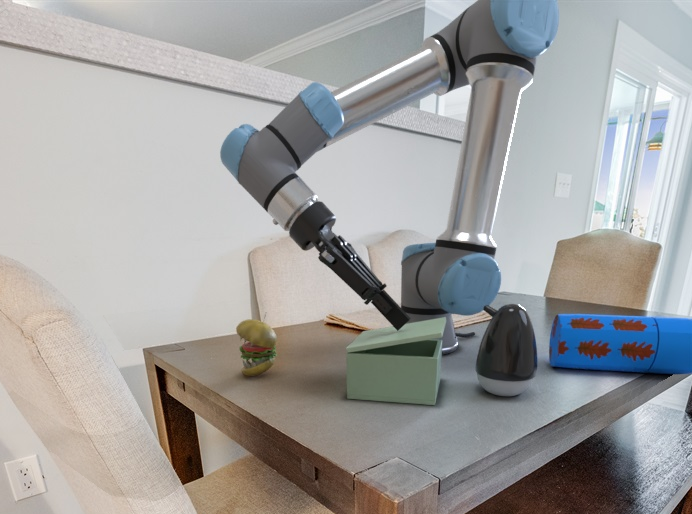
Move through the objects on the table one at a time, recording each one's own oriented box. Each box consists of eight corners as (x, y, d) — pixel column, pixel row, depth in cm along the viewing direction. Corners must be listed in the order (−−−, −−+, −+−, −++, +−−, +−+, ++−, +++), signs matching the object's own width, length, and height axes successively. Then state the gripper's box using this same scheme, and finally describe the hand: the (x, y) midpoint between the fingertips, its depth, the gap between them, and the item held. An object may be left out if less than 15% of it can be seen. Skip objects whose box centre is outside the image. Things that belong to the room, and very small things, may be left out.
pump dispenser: (492, 378, 87) (500, 296, 82) (544, 391, 80) (557, 304, 75) (460, 390, 81) (467, 303, 75) (514, 406, 74) (525, 311, 68)
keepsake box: (440, 380, 86) (442, 339, 83) (434, 405, 74) (437, 358, 71) (363, 375, 88) (363, 335, 85) (347, 398, 77) (346, 353, 74)
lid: (446, 321, 81) (445, 316, 81) (442, 337, 70) (441, 332, 70) (363, 335, 85) (362, 331, 85) (346, 353, 74) (345, 348, 74)
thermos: (555, 373, 90) (696, 382, 86) (563, 319, 86) (711, 325, 82) (546, 358, 100) (672, 365, 96) (553, 309, 96) (685, 314, 92)
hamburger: (245, 368, 92) (239, 308, 88) (282, 368, 92) (277, 308, 88) (236, 381, 85) (229, 316, 80) (275, 380, 85) (270, 316, 81)
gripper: (302, 233, 81) (394, 331, 84) (273, 235, 69) (381, 349, 72) (330, 200, 78) (424, 302, 81) (304, 196, 66) (416, 316, 69)
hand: (404, 324), depth 77 cm, fingers closed
